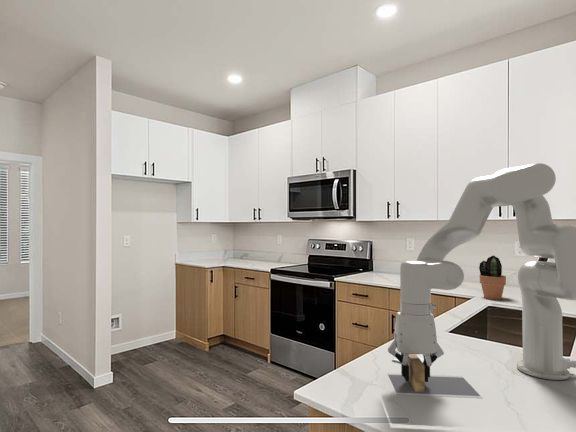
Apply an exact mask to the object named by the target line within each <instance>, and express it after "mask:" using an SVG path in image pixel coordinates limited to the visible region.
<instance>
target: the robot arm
mask: <svg viewBox="0 0 576 432" xmlns="http://www.w3.org/2000/svg"><path fill="white" fill-rule="evenodd" d="M556 179H557V178H556V173H555V171H554V169H553V168H552V167H551V166H549V165H548V164H545V163H530V164H526V165H518V166H513V167H507V168H502V169H500V170H497V171H496V172H495V173H493V174H492V175H485V176H479V177H475V178H474V179H472V180H470V181H469V182H468V184H466V186H465V188H464V190H463V192H462V194H461V196H460V197H459V200H458V202H457V204H456V206H455V208H454V210H453V212H451V213H452V214H451V216H450V218H449V219H448V220H447V222H446V223H445V224H444V225H443V226H442V227H440V229H438V230H437V231H436V232H435V233H434V234H433V235H432V236H431V237H429V239H428V240H427V241H426V242H425V244H424V245H423V247H422V248H421V250H420V253H419V254H418V256H417V258H416V260H405V261H403V262H402V263H401V264H400V269H399V271H400V279H399V282H400V286H399V287H400V293H399V294H400V296H399V298H400V300H399V301H400V302H399V303H400V305H399V306H400V307H399V309H400V310H399V311H397V313H396V317H395V324H394V334H393V335H394V337H393V338H394V339H393V341H392V343H390V345H389V346H388V348H387V352H388V353H389V354H390V355H392V356H393V357H395V358H397V359H398V360H399V361H400V362H401V363H400V366H401V368H400V369H401V371H400V372H401V373H400V374H402V376H404V379H405V380H406V381H409V366H408V364H407V360H408V355H409V354H423V358H424V361H423V364H424V366H425V382H428V377H430V375H431V367H432V365H433V364H434V363H435V362H436V360H438V358H440V357H442V356H443V355H444V354H445V351H444V350H443V348H441V346H440V345H439V343H438V338H437V329H436V327H437V326H436V322H435V317H434V314H433V313H432V312H433V311H437V304H433V303H432V297H431V296H432V292H431V290H433V289H435V290H440V291H441V290H442V291H452V290H455V289H457V288H459V287H461V286H462V284H463V282H464V280H465V274H464V271H463V268H462V267H461V266H460V265H458V264H457V263H455V262H453V261H451V260H450V261H448V260H445V258H446V257H447V256H448V254H449V253H451V252H452V251H453V250H454V249H456V248H458V247H459V246H462V245H463V244H466V243H469V242H471V241H473V240H474V239H476V238H477V237H479V236H480V234H481V233H482V231H483V228H484V227H485V224H486V222H487V220H488V219H489V216H490V215H491V212H492V211H493V208H495V207H507V206H512V208H513V211H514V213H515V219H516V225H517V227H516V228H517V234H518V240H519V246H520V250H521V251H522V253H524V254H525V255H526V256H529V257H534V258H542V259H551V260H552V259H554V261H542V260H532V261H531V260H530V261H528V262H526V263H525V262H524V264H522V265H521V266H520V267H519V270H518V273H517V281H518V285H519V290H520V295H521V296H520V297H521V303H522V304H521V307H522V308H521V309H522V313H521V315H522V317H521V318H522V323H521V324H522V326H521V327H522V360H521V359H520V360H519V361H517V362H516V368H517V369H518V370H519V371H520V372H522V373H524V374H527V375H529V376H531V377H534V378H539V379H545V380H550V381H563V380H565V381H566V380H567V379H570V377H571V372H570V371H569V370H568V369H571V368H573V369H576V360H571V359H570V358H566V357H563V355H564V354H563V351H564V347H563V345H564V344H563V310H562V307H561V304H560V302H559V300H558V299H562V300H566V301H576V226H574V225H572V224H566V223H562V224H561V223H554V221H553V218H552V212H551V207H550V204H549V202H548V200H547V199H546V197H545V195H546V194H548V193H550V192H551V190H553V188H554V187H555V184H556ZM396 349H397V350H396Z"/></svg>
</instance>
